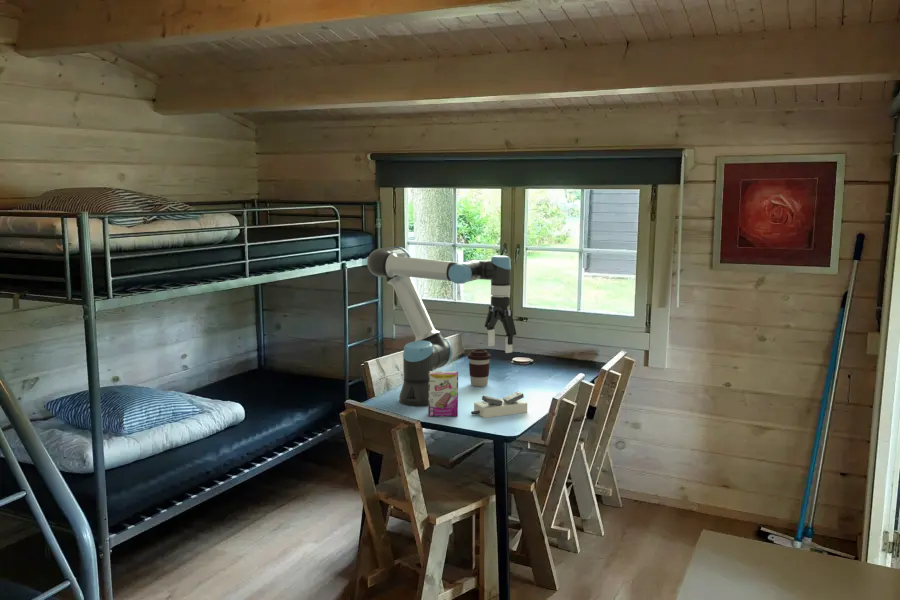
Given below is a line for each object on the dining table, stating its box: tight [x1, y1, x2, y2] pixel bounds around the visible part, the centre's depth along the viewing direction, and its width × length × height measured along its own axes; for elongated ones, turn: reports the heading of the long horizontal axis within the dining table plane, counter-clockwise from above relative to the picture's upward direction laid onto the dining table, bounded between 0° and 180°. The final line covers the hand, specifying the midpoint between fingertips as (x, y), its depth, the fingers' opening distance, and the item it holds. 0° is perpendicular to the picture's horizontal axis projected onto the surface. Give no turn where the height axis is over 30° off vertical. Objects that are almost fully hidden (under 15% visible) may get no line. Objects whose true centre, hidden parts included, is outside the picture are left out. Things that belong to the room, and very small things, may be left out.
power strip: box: [470, 398, 528, 419], centre depth 277 cm, size 21×9×4 cm, turn 113°
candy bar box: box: [427, 370, 459, 417], centre depth 273 cm, size 11×5×16 cm, turn 92°
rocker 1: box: [481, 395, 503, 405], centre depth 273 cm, size 7×4×2 cm, turn 113°
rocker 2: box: [502, 390, 525, 404], centre depth 277 cm, size 7×4×2 cm, turn 113°
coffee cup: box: [467, 348, 492, 388], centre depth 316 cm, size 10×10×15 cm
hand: (499, 349), depth 288 cm, fingers open, 13 cm apart
